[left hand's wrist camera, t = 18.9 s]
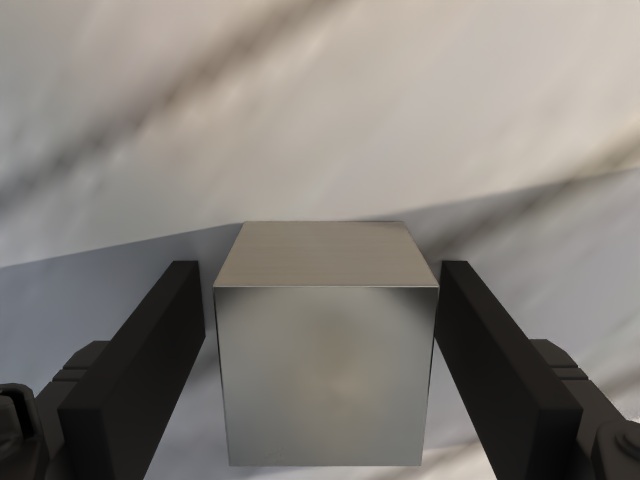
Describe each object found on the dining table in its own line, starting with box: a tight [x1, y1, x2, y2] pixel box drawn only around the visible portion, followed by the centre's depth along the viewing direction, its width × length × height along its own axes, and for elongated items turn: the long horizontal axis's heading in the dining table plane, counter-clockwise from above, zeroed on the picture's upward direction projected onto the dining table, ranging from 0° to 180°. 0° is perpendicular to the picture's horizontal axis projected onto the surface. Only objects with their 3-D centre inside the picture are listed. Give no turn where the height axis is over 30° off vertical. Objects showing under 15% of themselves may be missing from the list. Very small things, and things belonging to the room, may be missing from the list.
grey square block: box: [212, 222, 440, 466], centre depth 12 cm, size 5×5×4 cm
